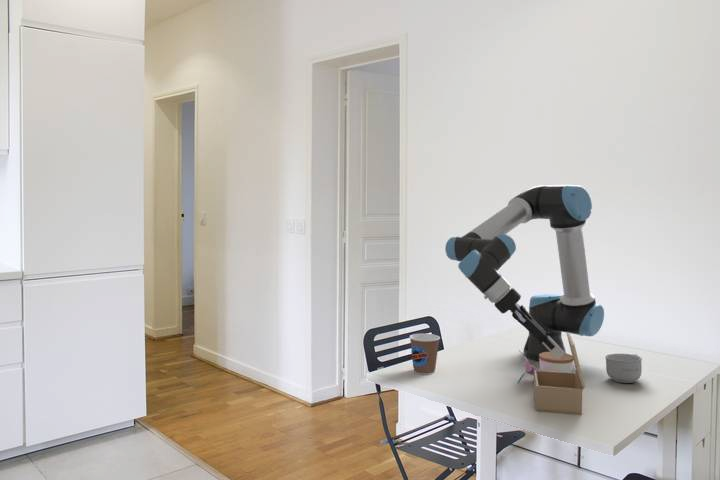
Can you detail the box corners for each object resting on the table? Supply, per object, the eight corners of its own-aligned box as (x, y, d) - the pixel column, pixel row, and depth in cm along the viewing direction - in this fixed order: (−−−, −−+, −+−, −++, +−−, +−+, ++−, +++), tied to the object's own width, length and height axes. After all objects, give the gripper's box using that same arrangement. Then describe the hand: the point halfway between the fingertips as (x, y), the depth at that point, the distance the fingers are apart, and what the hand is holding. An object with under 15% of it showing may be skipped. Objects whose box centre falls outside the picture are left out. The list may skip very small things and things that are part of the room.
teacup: (625, 387, 191) (626, 362, 191) (597, 378, 201) (598, 354, 200) (655, 381, 198) (656, 357, 197) (626, 372, 207) (627, 349, 207)
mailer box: (536, 410, 170) (536, 386, 170) (533, 393, 186) (534, 370, 185) (581, 414, 168) (582, 389, 167) (575, 396, 183) (576, 373, 183)
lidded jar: (572, 376, 203) (573, 348, 203) (572, 385, 193) (573, 356, 193) (539, 373, 207) (539, 345, 206) (537, 382, 197) (538, 353, 196)
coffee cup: (402, 371, 208) (403, 336, 207) (421, 365, 215) (421, 332, 215) (427, 378, 201) (427, 341, 200) (445, 371, 208) (446, 336, 208)
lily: (539, 394, 188) (553, 366, 189) (504, 375, 192) (517, 348, 193) (539, 394, 199) (552, 368, 200) (505, 376, 203) (518, 351, 204)
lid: (570, 345, 167) (574, 344, 167) (565, 332, 182) (569, 331, 182) (581, 389, 167) (585, 388, 167) (575, 372, 183) (579, 372, 182)
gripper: (493, 300, 185) (550, 358, 182) (492, 308, 173) (553, 370, 170) (512, 283, 184) (569, 341, 181) (512, 290, 171) (573, 352, 168)
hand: (561, 355), depth 175 cm, fingers closed
